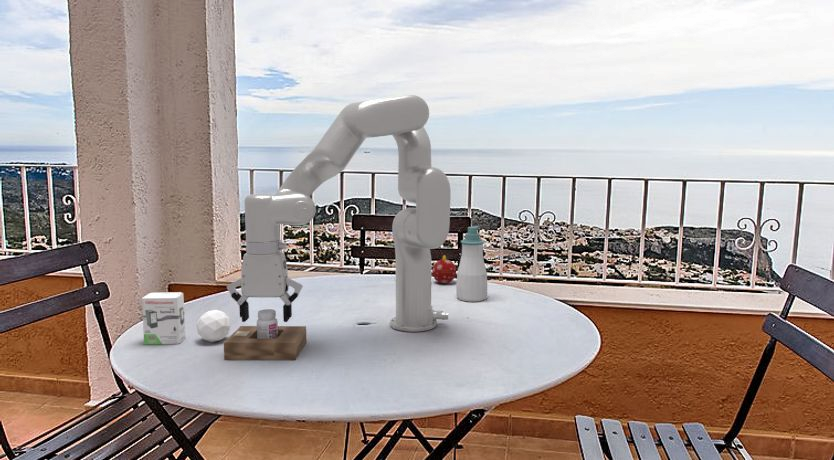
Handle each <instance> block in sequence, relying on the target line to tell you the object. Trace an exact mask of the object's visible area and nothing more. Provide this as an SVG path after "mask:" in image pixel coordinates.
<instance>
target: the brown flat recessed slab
mask: <svg viewBox="0 0 834 460" xmlns="http://www.w3.org/2000/svg"><path fill="white" fill-rule="evenodd" d="M306 344H307V326H305V325H302V326H301V325H299V326H298V325H297V326H295V325H293V326H292V325H290V326H289V325H278V338H277V339H257V325H241V326H238V328H237V329H236V330H235V331H234V332H233V333H231V335H230V336H229V337H228V338H226V340H224V341H223V359H224V360H225V361H226V360H230V361H235V360H237V361H241V360H242V361H246V360H247V361H251V360H252V361H296V360H297V358H298V356H299V355H300V353H301V352H302V350H303V349H304V347H305V345H306Z"/></svg>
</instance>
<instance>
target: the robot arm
mask: <svg viewBox="0 0 834 460" xmlns="http://www.w3.org/2000/svg"><path fill="white" fill-rule="evenodd" d="M429 118H430V109H429V105H428V104H427V102H426V101H425V100H424V99H423V98H422V97H421V96H418V95H414V94H408V95H403V96H395V97H389V98H382V99H381V98H380V99H372V100H371V99H370V100H362V101H356V102H353V103H349V104H347V105H346V106H344V108H342V110H340V112H339V114H338V115H337V116H336V118H335V119H334V120H333V122H332V123H331V124H330V126H329V128H328V129H327V131H326V132H325V133H324V134H323V135H322V137H321V139H319V142H318V143H317V144H316V145H315V146H314V148H313V149H312V151H310V153H308V154H307V155H306V156H305V158H304V159H303V160H301V162H300V163H299V164H298V165H297V166H295V168H294V169H293V170H292V171H291V172H290V173H289V175H288V176H287V177H286V178H285V180H284V181H283V183H282V184H281V186H279V189H278V190H277V191H276V193H275V194H273V193H252V194H249V195H247V196H245V198H244V222H245V224H244V225H245V248H246V249H245V250H246V253H244V254H243V257H242V264H241V277H240V278H239V279H237V280H235V281H233V282H231V283H229V284H228V285H227V286H226V289H227V290H228V292H229V294H230V296H231V298H232V300H234V301H235V302H236V304H237V305H238V307H239V317H240V318H241V322H242V323H245V322H247V321H248V319H250V311H249V310H250V309H249V302H248V301H247V300H248V298H279V299H280V300H281V301H282V302H283V305H282V306H283V307H282V311H283V313H282V314H283V315H282V317H283V322H284V323H288V321H290V319H291V317H292V315H293V314H292V313H293V309H292V306H293V305H292V303H293V302H294V301H295V300H296V299H297V298H298V297H299V295H300V293H301V291H302V290H303V288H304V287H303V286H304V285H303V284H301V283H300V282H297V281H296V280H294V279H292V278H290V277H289V273H288V264H287V259H286V255H285V252H283V251H282V250H283V249H284V250H286V249H287V243H286V242H282V240H281V234H280V233H281V232H280V231H281V230H280V227H281V226H280V225H284V226H285V225H287V226H302V225H306V224H308V223H310V222H311V221H312V220H313V219H314V218H315V216H316V204H315V201H314V200H313V199H312V198H311V196H312V195H313V193H314V192H315V191H316V190H317V189H318V188H319V187H320V186H321V185H322V184H323V183H325V182H326V181H328V180H330V179H332V178H334V177H336V176H337V175H339V174H340V173H342V172H343V171H344V170H345V169H346V167H347V166H348V164H349V163H350V161H351V160H352V159H353V157H354V156H355V154H356V153H357V151H358V150H359V148H360V147H361V146H362V144H363V143H364V141H366V139H369V138H378V137H386V136H392V137H393V139H394V140H395V143H396V146H397V151H398V153H397V154H398V163H397V164H398V166H397V168H398V170H397V171H398V172H397V190H398V194H399V196H400V197H401V199H403V200H404V201H406V202H408V203H413V204H415V207H406V208H404V209H401V210H400V211H399V212H397V213H396V215H395V216H394V218H393V221H392V225H391V226H392V227H391V229H392V238H393V243H394V251H395V316H394V317H392V318H391V319H390V320H389V324H390V327H391V328H393V329H395V330H397V331H401V332H414V333H415V332H425V331H430V330H432V329H435V328H436V327H437V324H438V321H437V320H442V321H444V320H445V321H448V320H449V312H444V311H443V310H435V309H433V305H432V268H433V267H432V265H433V264H432V254H431V250H435V249H438V248H440V247H441V246H442V245H444V243H446V240H447V238H448V237H449V232H450V224H451V221H450V219H451V218H450V217H451V193H452V192H451V185H450V181H449V178H448V176H447V175H446V173H445V172H444V171H443V170H441V169H440V168H437V167H435V166H434V167H433V166H432V145H431V140H430V137H429V134H428V132H427V130H426V128H425V127H424V126H425V125H426V124H427V123H428V121H429ZM239 286H240V289H241V294H242V295H241V294H240V293H239V292H238V291H237V289H236V288H237V287H239ZM290 287H291V288H293V289H294V291H293V293H292V294H291V295H290V293H288V292H289V289H290Z"/></svg>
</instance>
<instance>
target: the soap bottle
mask: <svg viewBox="0 0 834 460" xmlns="http://www.w3.org/2000/svg"><path fill="white" fill-rule="evenodd" d="M480 227H481V226H480V225H474V226H468V227H467V232H466V233H465V235H464V236H465V237H464V238H463V239H462V240H460V243H461V256H460V260H459V264H458V265H459V266H458V269H457V271H456V287H455V288H456V294H455V296H456V297H457V299H458V300H461V301H463V302H470V303H474V302H482V301H485V300H486V299H487V297H488V273H487V268H486V265H485V261H484V251H483V250H484V249H483V247H484V243H485V241H484V240H483V239H481V235H480V233H479V232H478V229H480Z"/></svg>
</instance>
